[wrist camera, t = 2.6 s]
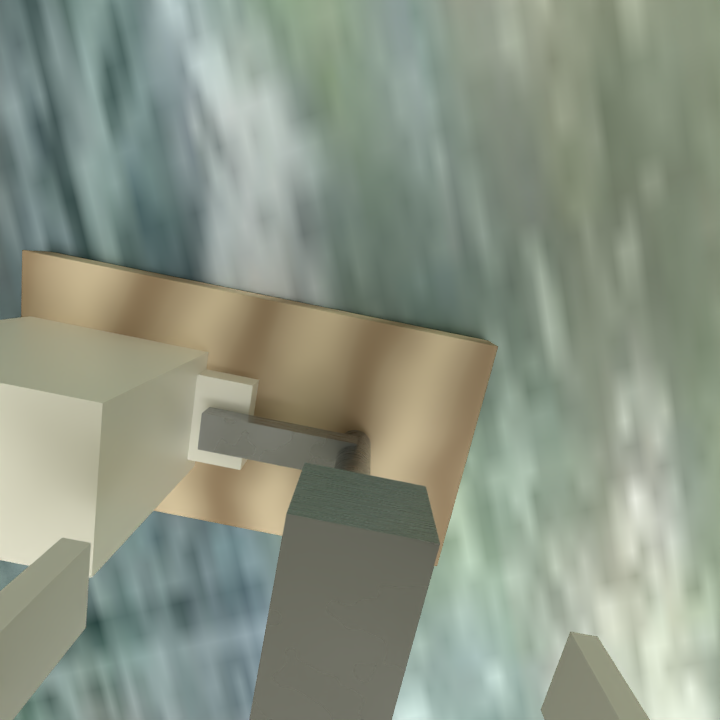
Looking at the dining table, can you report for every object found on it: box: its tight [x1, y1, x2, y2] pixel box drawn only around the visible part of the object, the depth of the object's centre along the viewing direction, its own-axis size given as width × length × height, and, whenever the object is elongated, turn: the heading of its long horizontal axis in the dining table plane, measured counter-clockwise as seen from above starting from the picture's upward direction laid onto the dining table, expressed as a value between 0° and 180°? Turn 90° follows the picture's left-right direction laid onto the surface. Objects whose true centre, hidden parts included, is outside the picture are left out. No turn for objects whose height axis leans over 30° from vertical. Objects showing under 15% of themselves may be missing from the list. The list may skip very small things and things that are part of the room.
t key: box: [198, 407, 440, 720], centre depth 16 cm, size 10×8×13 cm
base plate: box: [21, 250, 498, 566], centre depth 24 cm, size 26×14×2 cm, turn 79°
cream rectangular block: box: [0, 316, 259, 578], centre depth 19 cm, size 13×7×9 cm, turn 79°
